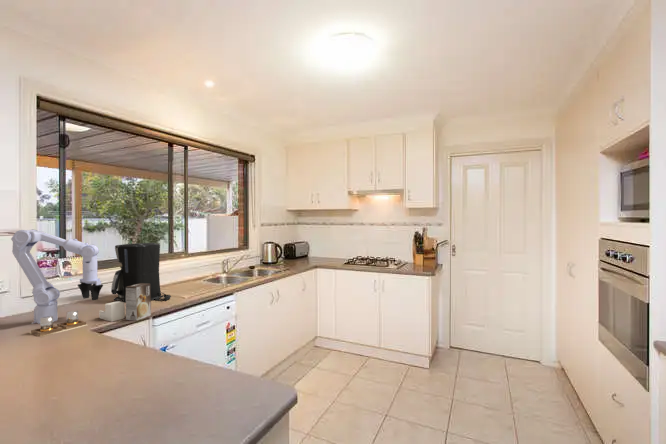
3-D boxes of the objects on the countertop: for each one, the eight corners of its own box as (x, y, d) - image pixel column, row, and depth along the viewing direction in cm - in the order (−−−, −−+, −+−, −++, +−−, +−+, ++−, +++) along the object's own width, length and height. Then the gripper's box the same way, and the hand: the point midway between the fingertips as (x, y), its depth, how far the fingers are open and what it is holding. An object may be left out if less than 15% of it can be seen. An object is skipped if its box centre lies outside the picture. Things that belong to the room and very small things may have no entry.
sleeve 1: (38, 332, 138) (38, 318, 138) (50, 329, 142) (50, 315, 142) (43, 334, 137) (43, 319, 137) (55, 331, 140) (55, 316, 140)
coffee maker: (124, 295, 211) (123, 242, 211) (178, 293, 216) (178, 241, 216) (105, 304, 189) (105, 244, 189) (166, 301, 194) (166, 243, 194)
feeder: (98, 319, 160) (97, 302, 160) (111, 316, 165) (111, 299, 165) (111, 322, 155) (111, 305, 155) (124, 319, 160) (124, 302, 160)
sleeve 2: (64, 326, 147) (64, 312, 146) (74, 323, 150) (74, 310, 150) (69, 327, 145) (69, 313, 145) (80, 324, 149) (80, 311, 149)
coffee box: (140, 315, 167) (139, 282, 167) (151, 315, 166) (151, 283, 166) (125, 320, 158) (125, 286, 158) (137, 321, 157) (136, 287, 157)
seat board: (28, 335, 138) (28, 329, 138) (75, 323, 153) (75, 318, 153) (41, 339, 133) (41, 333, 133) (88, 327, 148) (88, 322, 148)
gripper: (107, 270, 159) (108, 298, 160) (90, 268, 166) (91, 295, 166) (91, 272, 153) (91, 302, 153) (74, 270, 160) (74, 298, 160)
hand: (90, 299), depth 159 cm, fingers open, 7 cm apart
